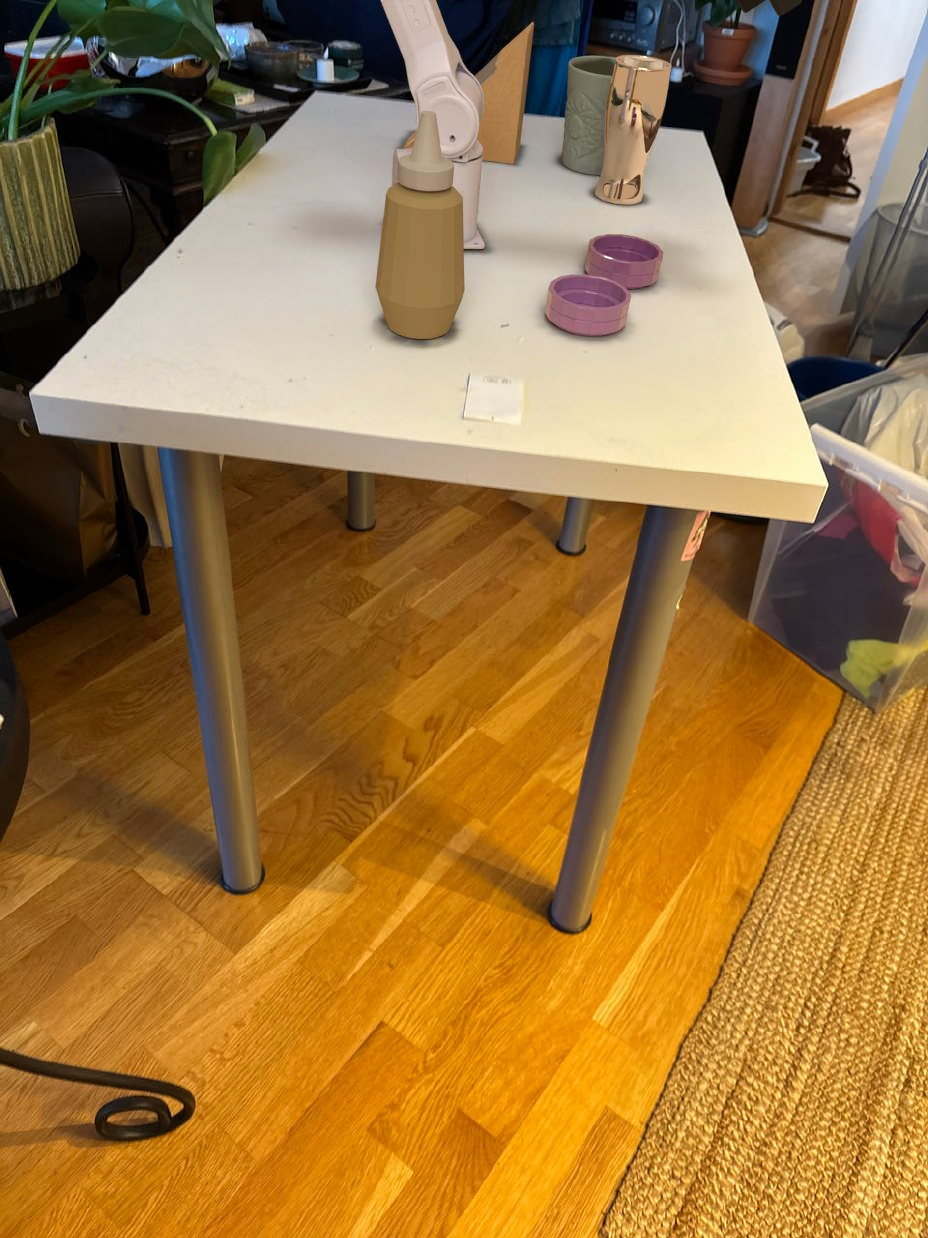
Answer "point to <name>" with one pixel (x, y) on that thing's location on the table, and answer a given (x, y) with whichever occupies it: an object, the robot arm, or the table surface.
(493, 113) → the sandwich container
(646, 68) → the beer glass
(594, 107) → the green vase
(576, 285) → the dish near
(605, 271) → the dish far
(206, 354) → the table surface
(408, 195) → the squeeze bottle
